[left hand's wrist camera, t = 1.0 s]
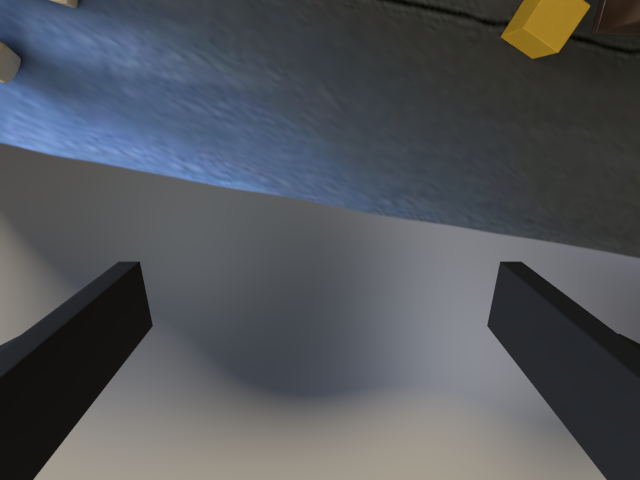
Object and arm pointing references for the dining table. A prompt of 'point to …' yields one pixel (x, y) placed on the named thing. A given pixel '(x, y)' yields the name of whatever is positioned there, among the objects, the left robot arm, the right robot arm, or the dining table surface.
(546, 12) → the block
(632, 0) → the chest
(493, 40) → the dining table surface
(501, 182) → the dining table surface
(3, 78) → the pounding bench toy
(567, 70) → the dining table surface
